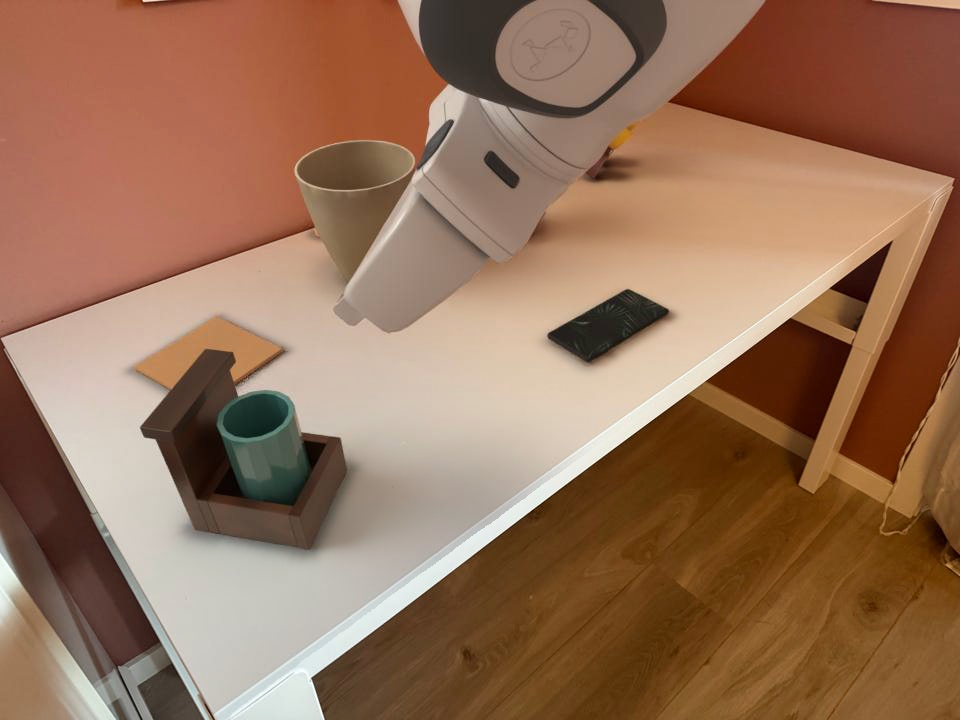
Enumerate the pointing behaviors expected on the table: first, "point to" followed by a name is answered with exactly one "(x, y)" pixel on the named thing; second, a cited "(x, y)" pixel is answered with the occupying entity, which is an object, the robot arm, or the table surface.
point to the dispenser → (206, 468)
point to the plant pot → (353, 194)
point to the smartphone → (607, 325)
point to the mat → (214, 336)
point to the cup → (265, 446)
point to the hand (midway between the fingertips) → (368, 273)
